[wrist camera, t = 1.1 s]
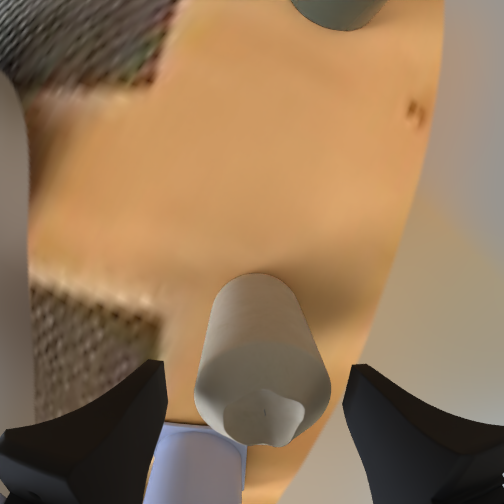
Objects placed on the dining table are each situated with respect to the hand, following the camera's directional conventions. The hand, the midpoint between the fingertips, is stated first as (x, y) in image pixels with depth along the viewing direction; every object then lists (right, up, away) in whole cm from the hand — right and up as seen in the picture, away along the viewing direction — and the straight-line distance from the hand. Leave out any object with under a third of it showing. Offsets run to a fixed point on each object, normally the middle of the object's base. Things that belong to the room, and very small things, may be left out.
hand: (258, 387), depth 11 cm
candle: (0, +1, +9) cm, 9 cm away
